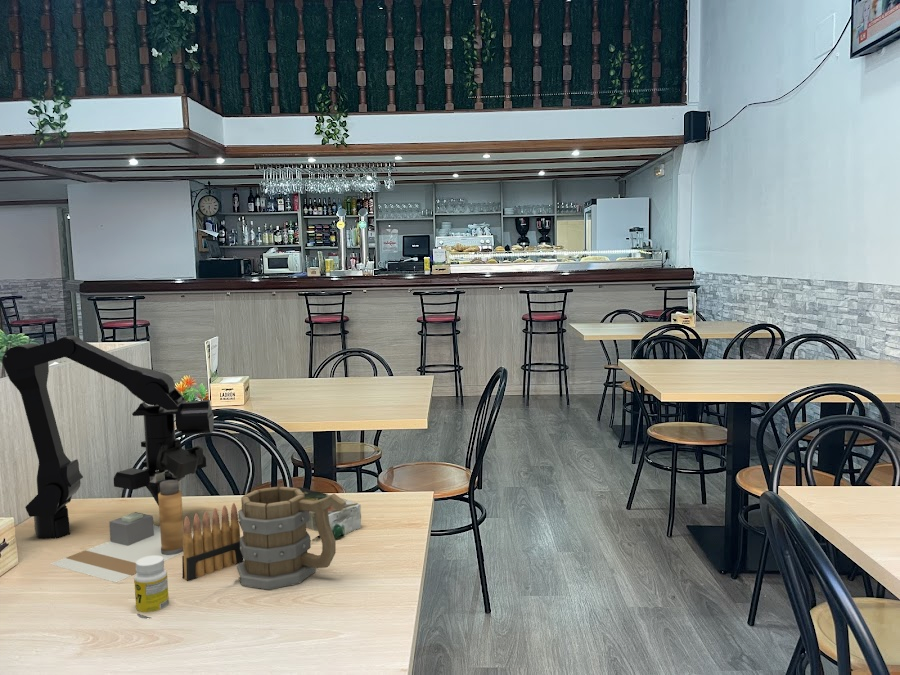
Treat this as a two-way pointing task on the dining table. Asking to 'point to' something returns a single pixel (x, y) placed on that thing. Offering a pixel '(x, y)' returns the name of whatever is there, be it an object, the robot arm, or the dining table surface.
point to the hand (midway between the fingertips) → (164, 510)
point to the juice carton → (335, 514)
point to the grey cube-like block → (131, 528)
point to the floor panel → (114, 558)
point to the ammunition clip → (211, 544)
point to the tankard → (282, 536)
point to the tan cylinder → (171, 517)
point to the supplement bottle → (150, 584)
